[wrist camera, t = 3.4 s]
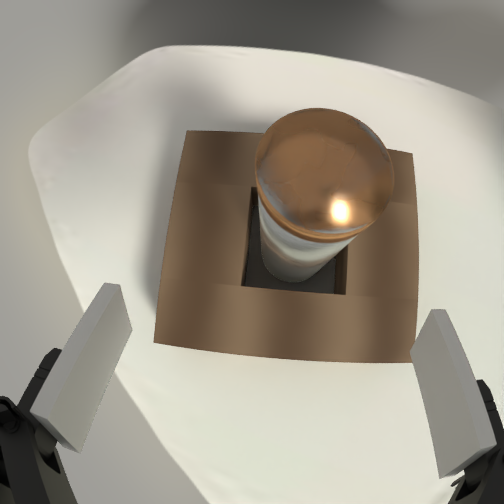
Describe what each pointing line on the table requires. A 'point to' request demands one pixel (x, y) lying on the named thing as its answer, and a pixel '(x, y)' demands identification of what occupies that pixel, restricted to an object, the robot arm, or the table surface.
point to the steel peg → (317, 188)
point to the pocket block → (272, 300)
